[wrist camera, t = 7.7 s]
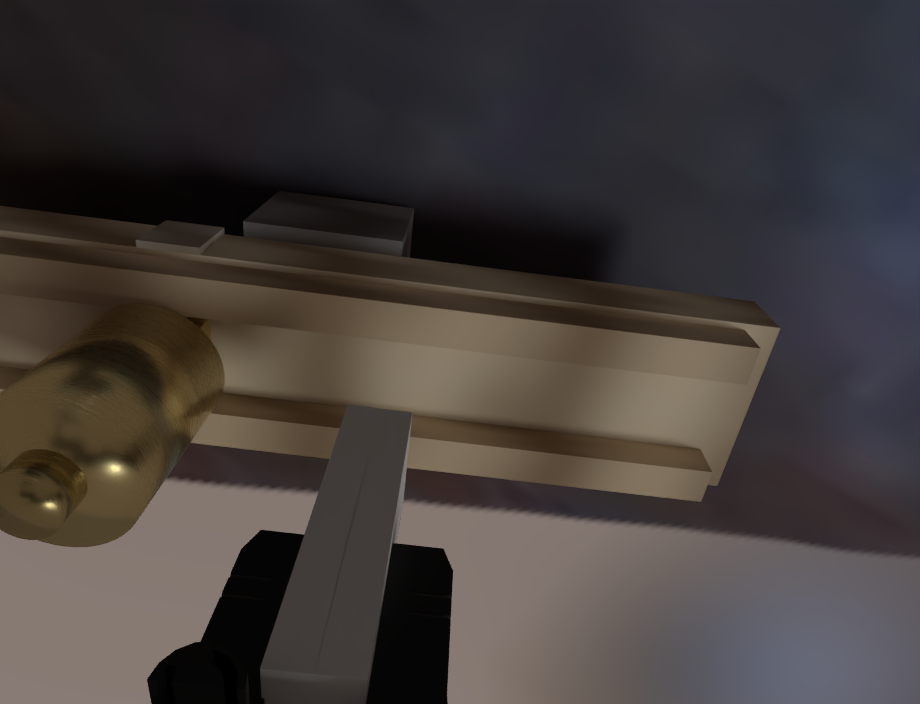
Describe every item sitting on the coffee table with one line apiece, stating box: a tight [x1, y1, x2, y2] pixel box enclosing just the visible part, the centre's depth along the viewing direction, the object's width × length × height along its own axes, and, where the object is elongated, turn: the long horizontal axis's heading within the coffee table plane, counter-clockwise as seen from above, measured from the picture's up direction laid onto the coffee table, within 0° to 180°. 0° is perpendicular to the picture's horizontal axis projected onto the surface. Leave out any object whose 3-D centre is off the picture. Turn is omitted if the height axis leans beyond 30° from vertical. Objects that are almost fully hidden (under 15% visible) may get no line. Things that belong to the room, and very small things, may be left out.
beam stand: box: [0, 191, 780, 502], centre depth 22 cm, size 28×7×7 cm, turn 83°
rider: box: [0, 303, 225, 547], centre depth 16 cm, size 4×4×7 cm
